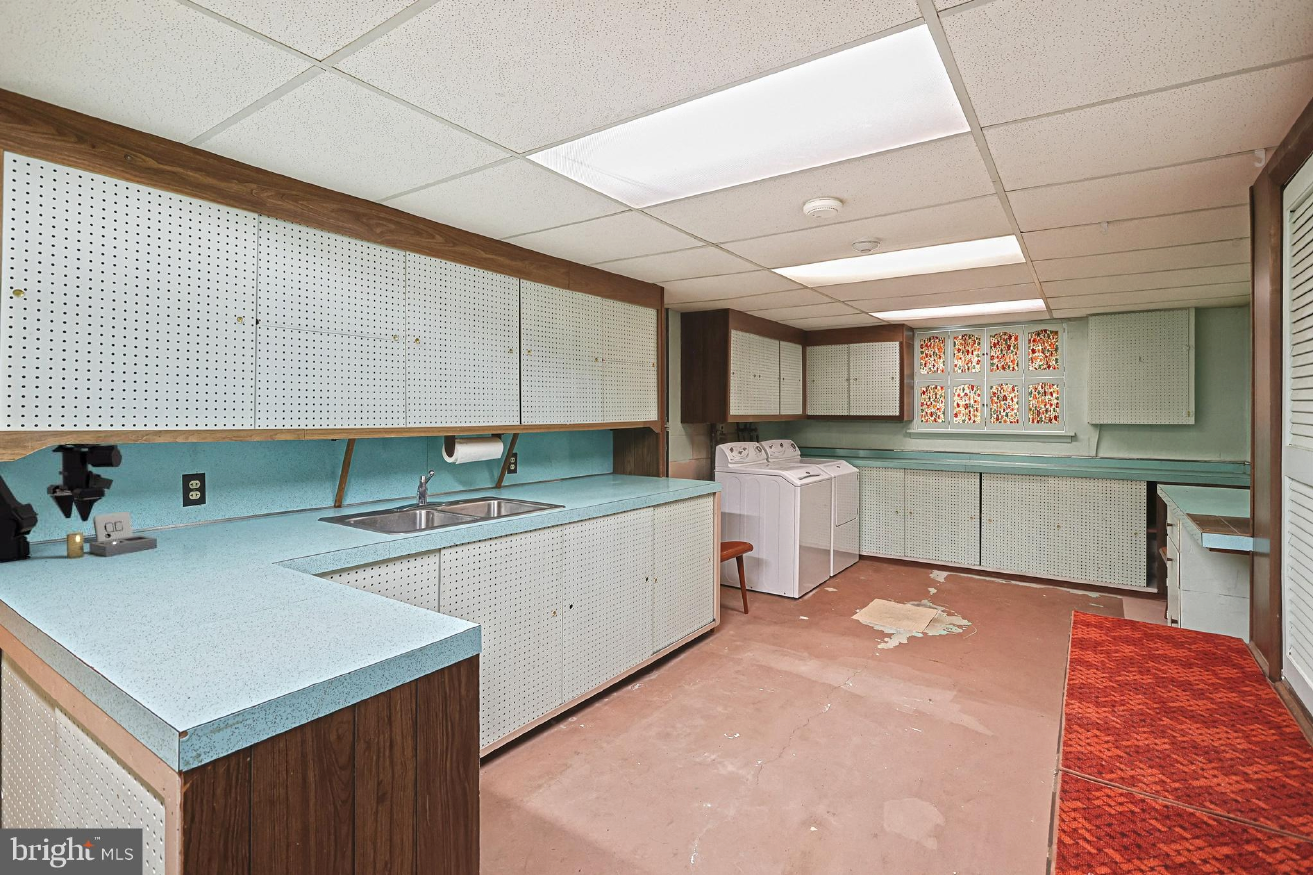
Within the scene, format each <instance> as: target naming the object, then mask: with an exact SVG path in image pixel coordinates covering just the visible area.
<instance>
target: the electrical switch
mask: <svg viewBox="0 0 1313 875" xmlns="http://www.w3.org/2000/svg"><path fill="white" fill-rule="evenodd" d="M130 515H131V514H130V512H129V511H122V512H121V511H120V512H113V513H104V514H103V513H102V514H95V515H94V516H93V519H92V521H93V526H94V527H93V528H94V535H95V542H99V541H105V540H112V539H118V538H125V537H131V536H134V534H133V533H134V532H133V528H132V521H131V516H130Z"/></svg>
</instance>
